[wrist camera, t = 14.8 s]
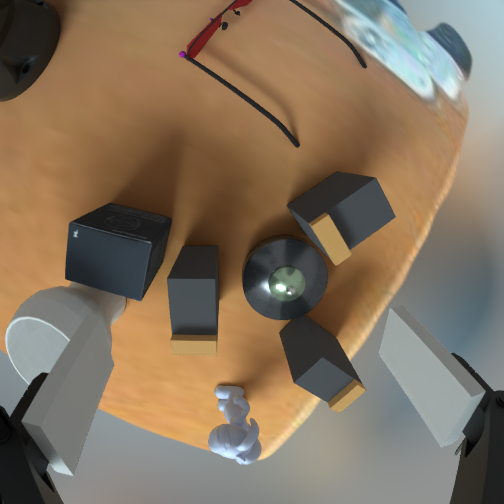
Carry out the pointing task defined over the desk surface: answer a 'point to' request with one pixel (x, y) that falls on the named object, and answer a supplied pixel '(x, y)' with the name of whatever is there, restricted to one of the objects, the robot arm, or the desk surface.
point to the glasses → (192, 52)
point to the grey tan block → (194, 301)
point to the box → (117, 249)
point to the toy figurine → (235, 427)
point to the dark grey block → (320, 363)
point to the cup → (55, 324)
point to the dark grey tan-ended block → (342, 213)
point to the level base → (284, 277)
